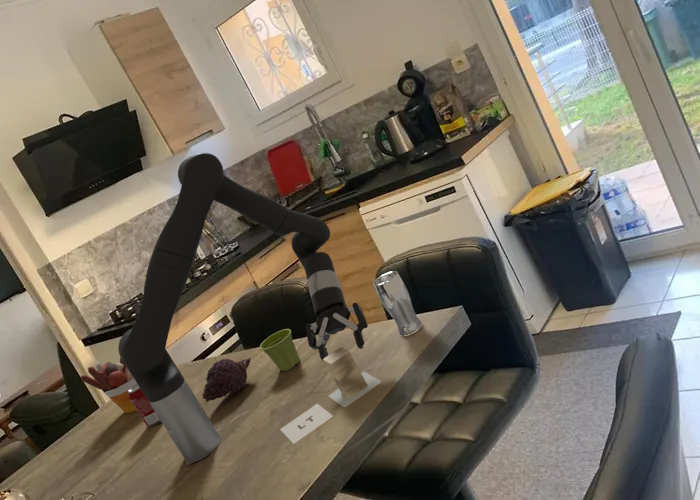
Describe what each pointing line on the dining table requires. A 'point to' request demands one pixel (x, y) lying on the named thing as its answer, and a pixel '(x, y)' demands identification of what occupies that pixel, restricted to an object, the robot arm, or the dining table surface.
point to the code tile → (306, 423)
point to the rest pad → (347, 401)
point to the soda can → (143, 406)
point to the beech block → (345, 372)
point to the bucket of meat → (113, 383)
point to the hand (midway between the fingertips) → (343, 354)
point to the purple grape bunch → (225, 378)
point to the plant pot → (281, 349)
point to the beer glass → (397, 302)
